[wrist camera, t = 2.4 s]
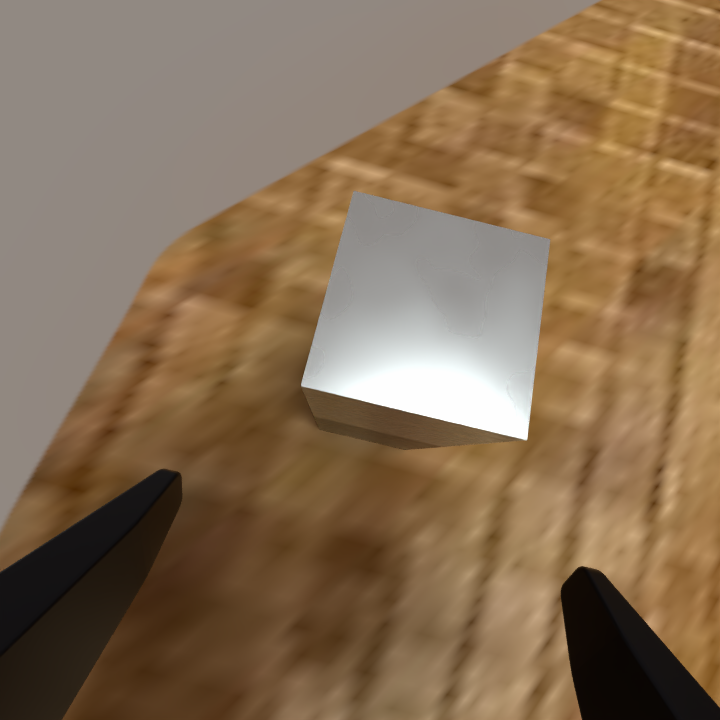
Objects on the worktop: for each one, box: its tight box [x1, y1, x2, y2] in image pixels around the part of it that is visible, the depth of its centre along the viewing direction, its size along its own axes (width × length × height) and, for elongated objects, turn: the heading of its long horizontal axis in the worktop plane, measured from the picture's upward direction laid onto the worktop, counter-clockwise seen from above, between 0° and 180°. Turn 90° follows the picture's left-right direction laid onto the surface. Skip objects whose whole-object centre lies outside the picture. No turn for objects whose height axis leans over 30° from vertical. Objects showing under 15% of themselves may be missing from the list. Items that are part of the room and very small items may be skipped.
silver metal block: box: [301, 191, 550, 450], centre depth 14 cm, size 5×5×13 cm
